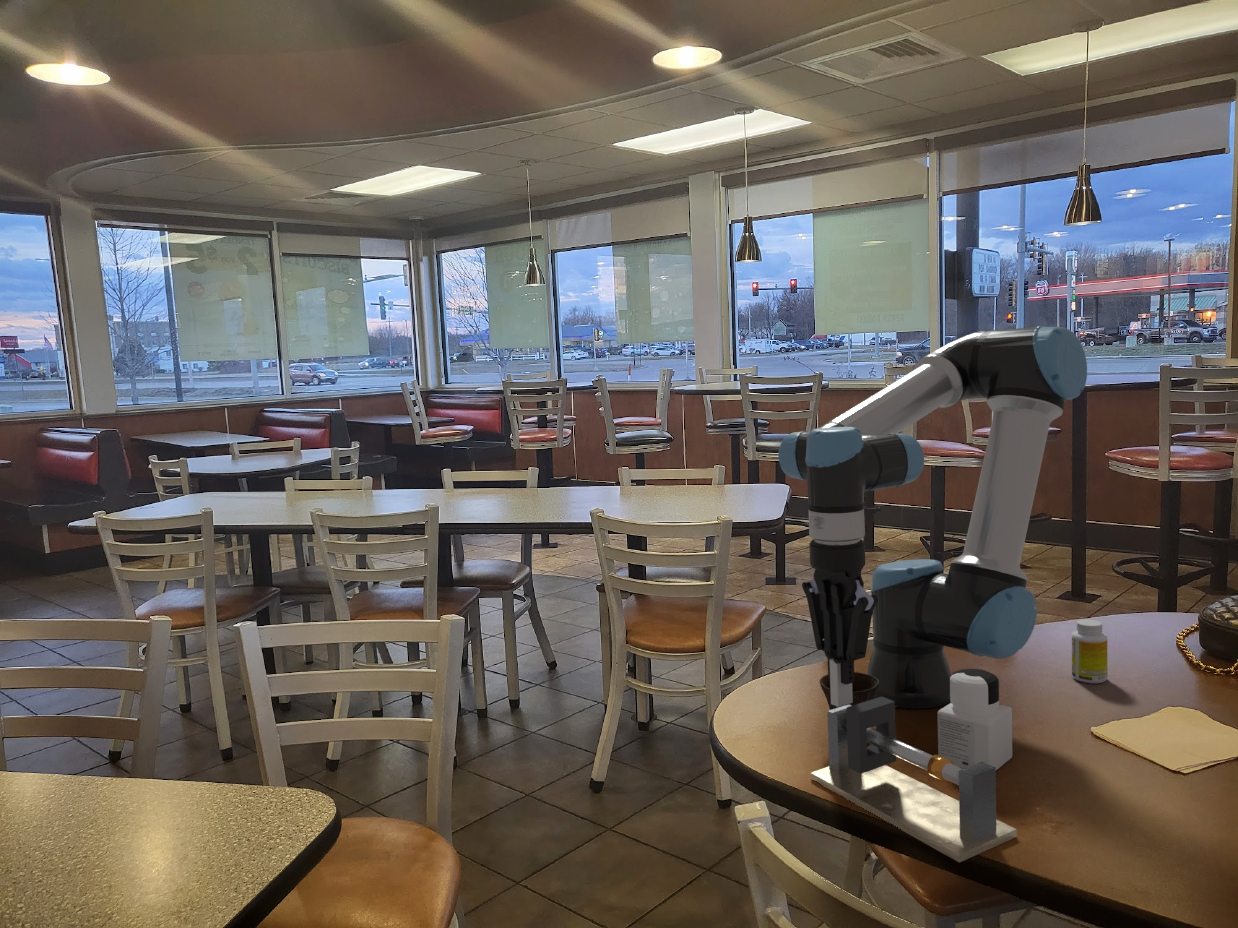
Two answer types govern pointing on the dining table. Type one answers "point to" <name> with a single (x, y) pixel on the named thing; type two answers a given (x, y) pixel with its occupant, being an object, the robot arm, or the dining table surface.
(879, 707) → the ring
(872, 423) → the robot arm
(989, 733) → the container
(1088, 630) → the supplement bottle
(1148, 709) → the dining table surface
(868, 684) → the cup
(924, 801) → the rail
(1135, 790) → the dining table surface
